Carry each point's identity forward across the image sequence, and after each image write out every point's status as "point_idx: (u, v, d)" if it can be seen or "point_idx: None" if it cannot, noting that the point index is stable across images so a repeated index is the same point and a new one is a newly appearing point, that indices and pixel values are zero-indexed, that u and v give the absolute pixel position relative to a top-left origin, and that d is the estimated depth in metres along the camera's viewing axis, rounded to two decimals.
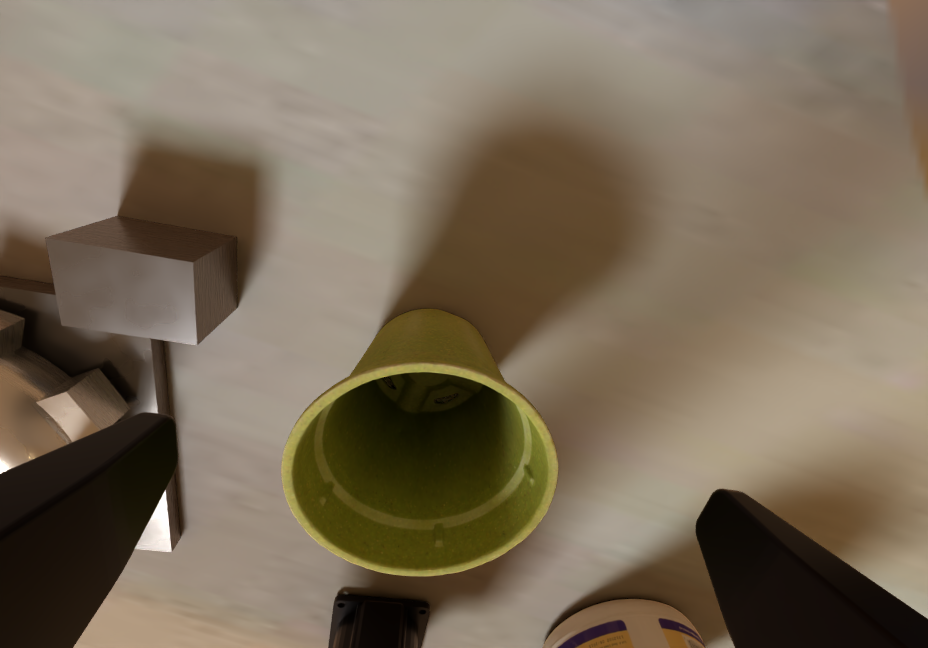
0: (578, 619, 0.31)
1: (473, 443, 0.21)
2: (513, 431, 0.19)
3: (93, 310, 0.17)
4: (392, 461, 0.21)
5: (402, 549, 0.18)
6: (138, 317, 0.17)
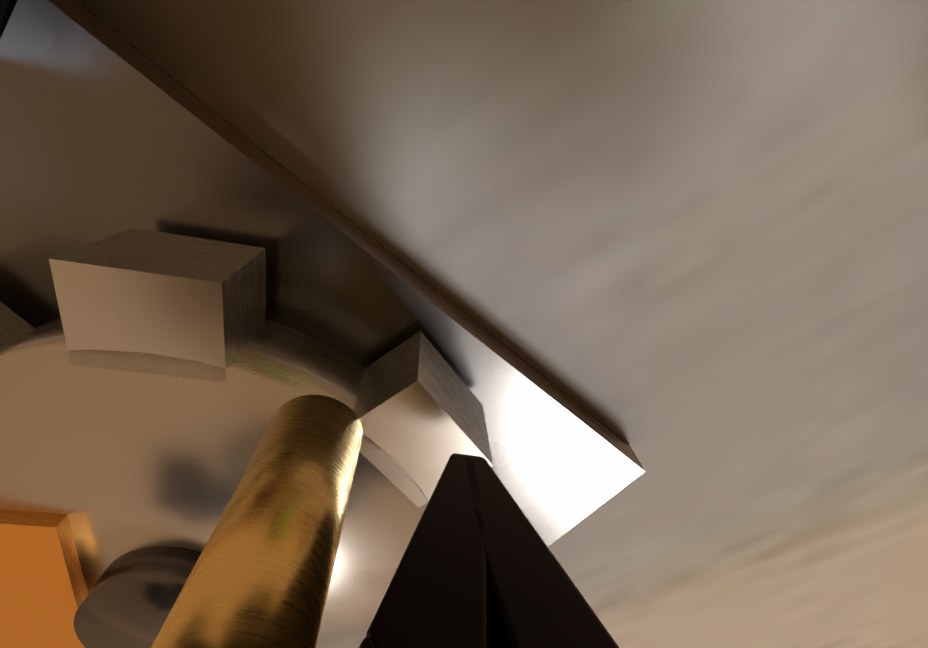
0: None
1: None
2: None
3: None
4: None
5: None
6: None
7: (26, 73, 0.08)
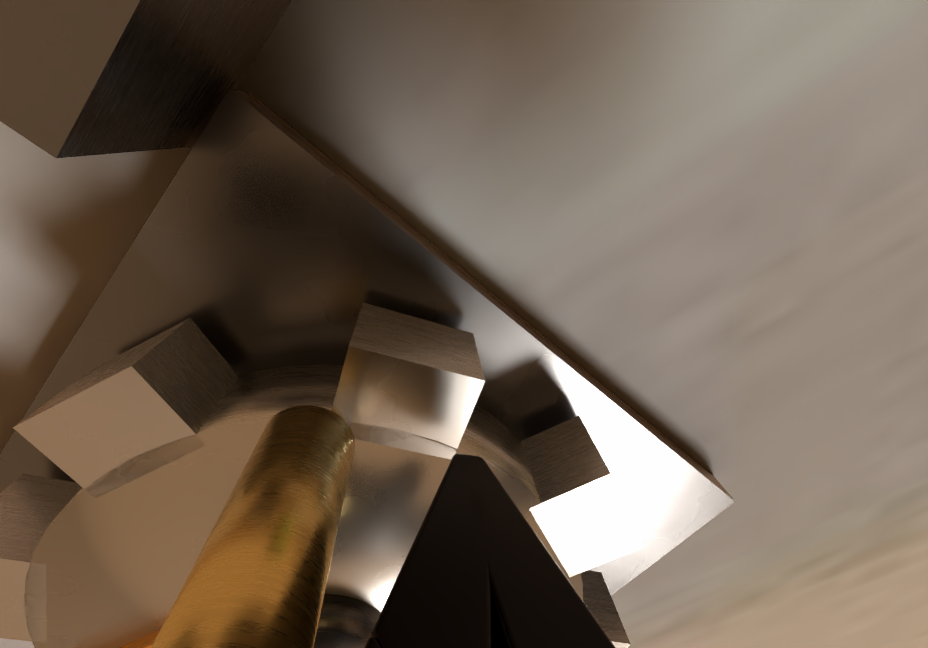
0: None
1: None
2: None
3: (23, 13, 0.05)
4: None
5: None
6: None
7: (218, 165, 0.08)
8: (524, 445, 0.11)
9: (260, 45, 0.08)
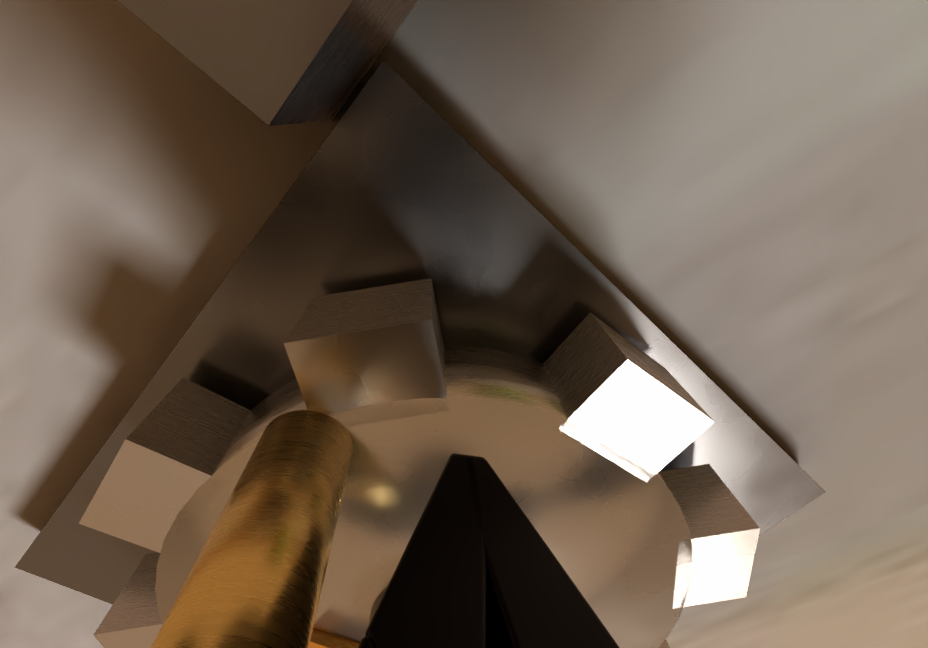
0: None
1: None
2: None
3: None
4: None
5: None
6: None
7: (362, 139, 0.08)
8: (546, 367, 0.10)
9: (405, 16, 0.08)
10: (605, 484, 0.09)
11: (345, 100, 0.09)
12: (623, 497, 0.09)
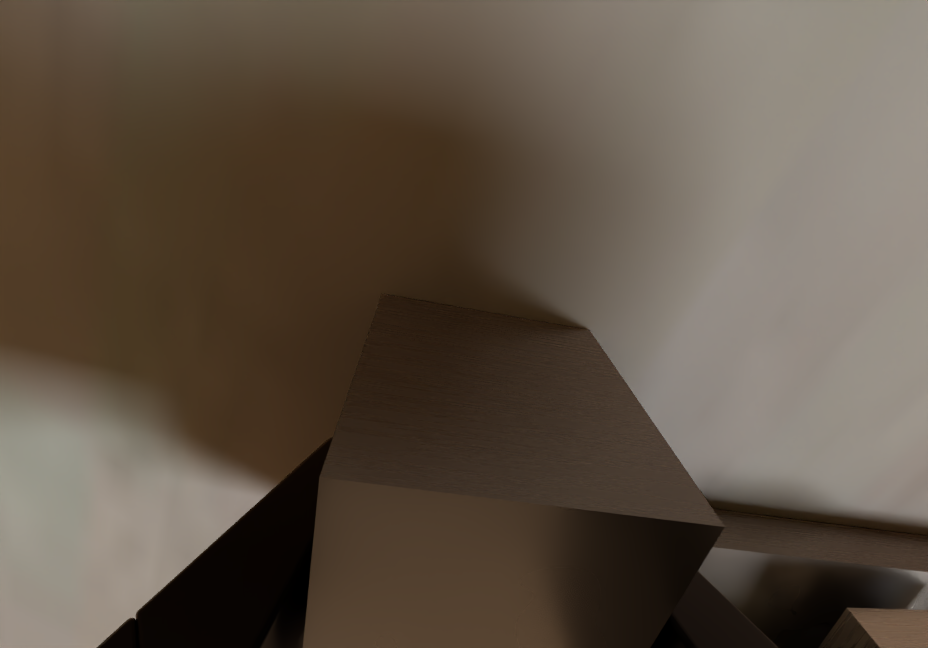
0: None
1: None
2: None
3: None
4: None
5: None
6: None
7: None
8: None
9: None
10: None
11: None
12: None
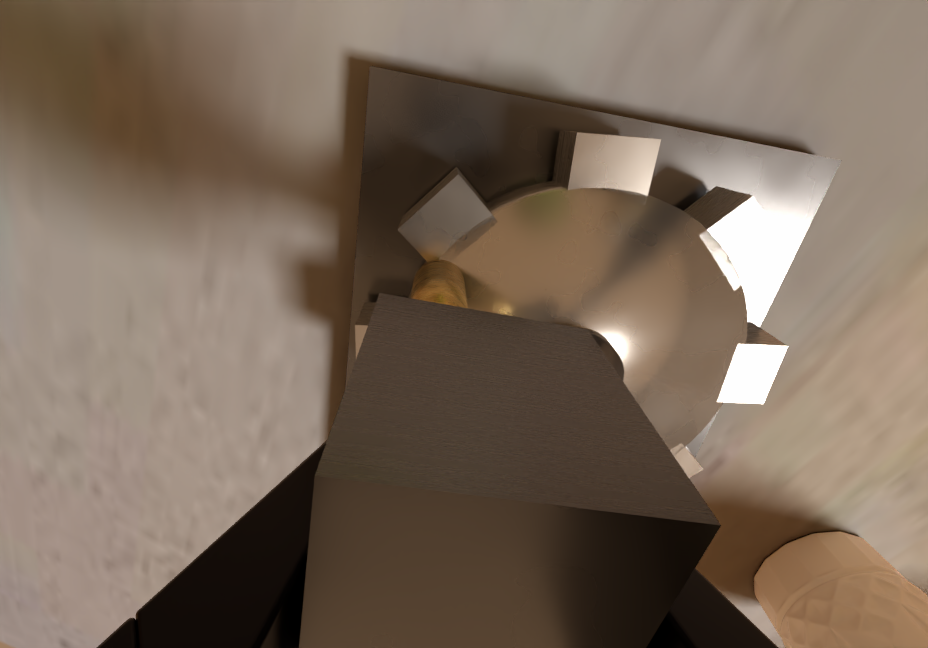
0: None
1: None
2: None
3: None
4: None
5: None
6: None
7: (382, 114, 0.14)
8: (553, 180, 0.15)
9: None
10: (619, 220, 0.13)
11: None
12: (637, 223, 0.14)
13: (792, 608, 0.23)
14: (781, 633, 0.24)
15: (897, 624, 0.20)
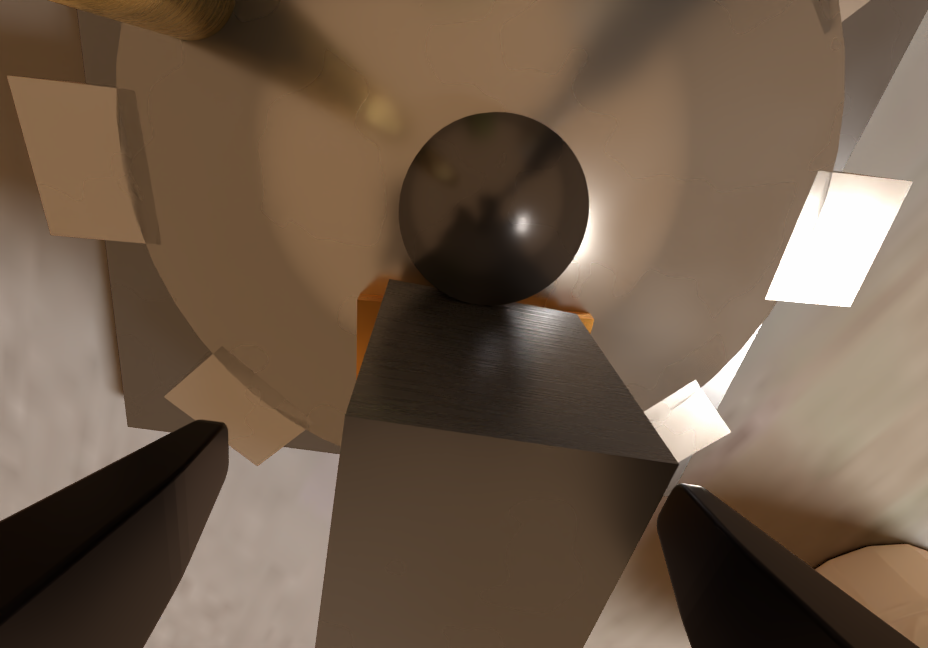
0: None
1: None
2: None
3: None
4: None
5: None
6: (545, 587, 0.05)
7: None
8: None
9: None
10: None
11: None
12: None
13: None
14: None
15: None
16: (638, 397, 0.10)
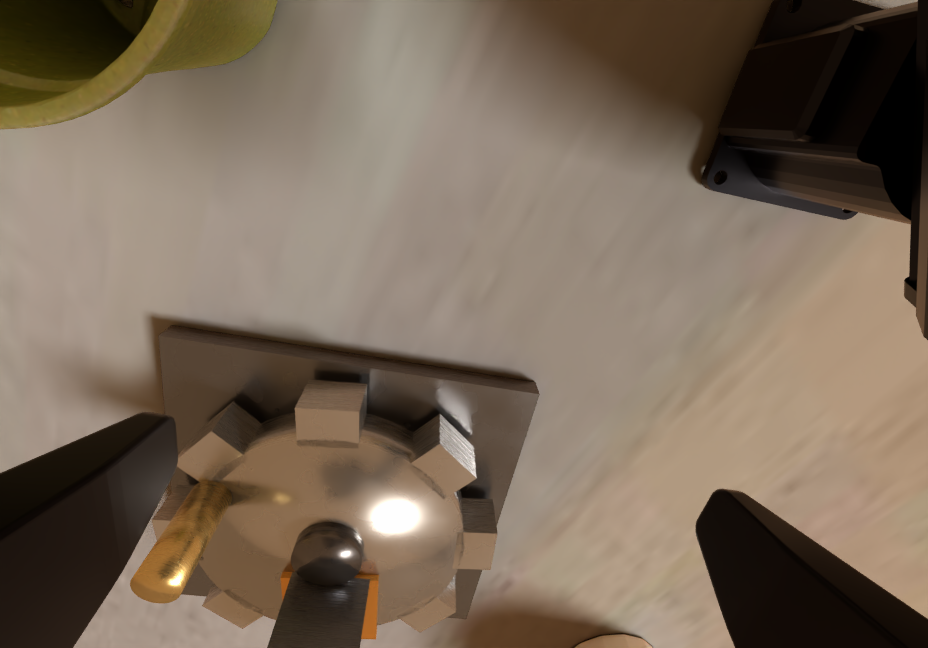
0: None
1: None
2: None
3: None
4: None
5: None
6: None
7: (173, 364, 0.19)
8: None
9: None
10: (341, 457, 0.18)
11: None
12: (356, 459, 0.18)
13: None
14: None
15: None
16: (409, 601, 0.22)
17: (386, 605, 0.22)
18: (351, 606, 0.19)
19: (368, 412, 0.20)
